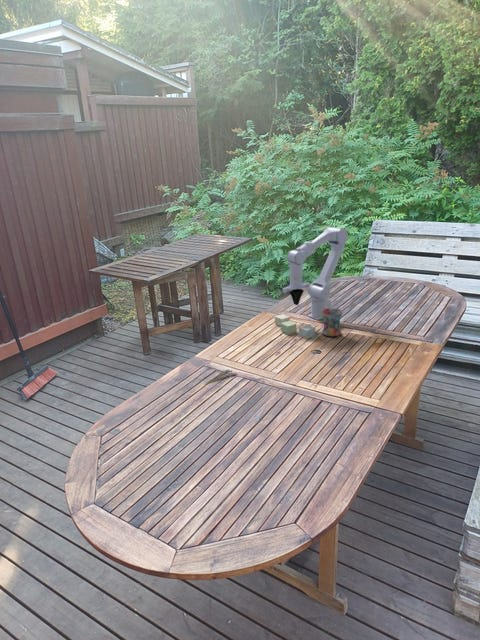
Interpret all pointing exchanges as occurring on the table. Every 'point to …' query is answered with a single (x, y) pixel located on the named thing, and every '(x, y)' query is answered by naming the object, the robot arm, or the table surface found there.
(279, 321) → the block cream
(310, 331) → the block bluegrey
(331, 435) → the table surface
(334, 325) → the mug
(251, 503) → the table surface
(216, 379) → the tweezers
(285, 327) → the block sage
